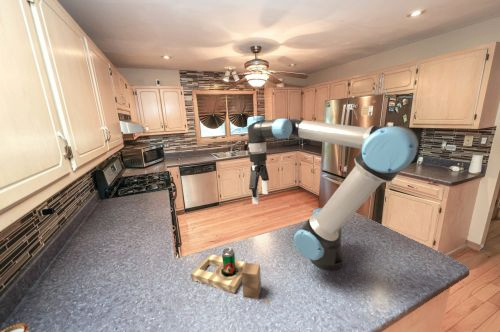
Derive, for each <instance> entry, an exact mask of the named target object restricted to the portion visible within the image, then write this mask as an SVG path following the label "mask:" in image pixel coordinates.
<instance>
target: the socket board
mask: <svg viewBox="0 0 500 332" xmlns="http://www.w3.org/2000/svg"><path fill="white" fill-rule="evenodd" d="M245 263H247V262H245V261H241V260H238V259H235V264H236V275H234V276H232V277H225V276H224V270H223V259H222V255H221V256H220V255H216V254H212V253H210V254H209V255H208V256H206V258H205V259H204V260H203V261H202V262H201V263H200V264H199V265H198V266H197V267H196V268H194V270H193V271H192V272H191V273H190V279H192V280H191V281H193V280H195V281H194V282H196V281H198V282H197V283H199V282H201V283H200V284H202V283H205V284H207V285H206V286H208V285H211V286H210V287H212V286H213V287H212V288H215V287H216V288H215V289H218V288H219V290H221V289H222V290H221V291H224V290H225V292H228V293H231V294H235V293H237V291H238V289H239V287H240V286H241V284H242V271H243V268H244V266H245ZM209 264H210V265H209ZM208 265H209V266H211V265H214V266H213V267H215V266H218V267H216V269H215V270H214V272H210V271H207V270H206V269H207V268H208V267H209V266H208ZM207 266H208V267H207ZM206 267H207V268H206ZM205 268H206V269H205ZM204 269H205V270H204ZM205 284H204V285H205Z"/></svg>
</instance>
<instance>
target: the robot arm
mask: <svg viewBox="0 0 500 332" xmlns="http://www.w3.org/2000/svg"><path fill="white" fill-rule="evenodd" d="M246 123H247V127H246V128H247V137H248V145H247V146H248V149H249V150H248V152H249V162H250V163H253V165H250V177H249V185H248V189H249V190H250V191H251V201H252V205H259V204H260V197H259V196H260V195H259V188H258V186H259V181H260V178H261V194H262V195H268V194H269V189H268V184H269V183H268V181H270V175H269V173H268V169H267V168H268V167H267V159H268V157H267V140H268V139H280V140H281V139H288V138H290V137H293V138H300V139H301V138H302V139H307V140H312V141H316V142H317V141H318V142H322V143H327V144H333V145H340V146H343V147H344V146H345V147H349V148H354V149H355V148H356V149H360V151H359V152H358V153H357V154H356V156H355V158H354V164H355V166H354V167H353V168H352V170H351V171H350V172H349V173H348V174H347V176H346V178H344V180H343V181H342V183H341V184H340V185H339V186H338V188H337V189H336V190H335V191H334V193H332V196H331V197H330V198H329V199H328V200H327V201H326V203H325V205H323V207H319V208H315V209H313V212H312V215H311V216H310V217H309V218H308V219H307V220H306V222H305V223H304V224H303V226H302V227H301V228H300V229H298V230H297V231H296V232H295V234H294V236H293V243H294V246H295V248H296V250H297V251H298V253H299V254H300V255H301V256H303V258H306V259H308V260H309V261H310V262H311V263H312V264H313V265H314V266H316V267H318V268H319V269H323V270H328V271H336V270H340V269H342V268H343V267H344V266H345V264H346V256H345V253H344V250H343V247H342V227H343V226H344V225H345V224H346V223H347V222H348V221H349V219H350V218H351V217H352V216H353V215H354V214H355V212H357V211H358V210H359V209H360V207H362V205H363V204H364V203H365V202H366V201H367V200H368V198H370V196H371V195H372V194H373V193H374V192H375V190H376V189H378V187H380V185H381V184H382V183H391V182H393V180H394V179H395V178H396V177H397V176H398V175H399V174H400V172H401V171H403V170H404V169H405V168H406V167H408V166H409V165H411V163H412V162H413V161H414V159H415V158H416V155H417V153H418V149H419V145H420V144H419V142H420V141H419V138H418V136H417V134H416V133H415V132H414V131H413V130H412V129H411V128H409V127H407V126H403V125H391V126H389V125H388V126H386V125H385V126H384V125H372V126H369V127H363V126H355V125H348V124H346V125H345V124H336V123H329V122H320V121H315V120H314V121H311V120H305V119H304V120H302V119H299V118H277V119H276V118H275V119H268V120H266V119H265V117H264V116H262V115H257V116H256V115H255V116H249V117H248V118H247V122H246Z"/></svg>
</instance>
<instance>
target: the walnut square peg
mask: <svg viewBox="0 0 500 332" xmlns="http://www.w3.org/2000/svg"><path fill="white" fill-rule="evenodd" d="M241 284H242V296H243V297H242V298H247V299H252V300H253V299H254V300H259V297H260V293H261V290H262V281H261V265H260V264H259V263H251V262H250V263H249V262H246V263H245V266H244V268H243V271H242V283H241Z"/></svg>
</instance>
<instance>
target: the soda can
mask: <svg viewBox="0 0 500 332" xmlns="http://www.w3.org/2000/svg"><path fill="white" fill-rule="evenodd" d="M221 257H222V259H223V270H224V274H223V276H225V277H232V276H234V275H236V274H237V272H236V264H235V260H236V252H235V251H234V249H233V248H232V247H226V248H224V249H223V251H222V252H221Z"/></svg>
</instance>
